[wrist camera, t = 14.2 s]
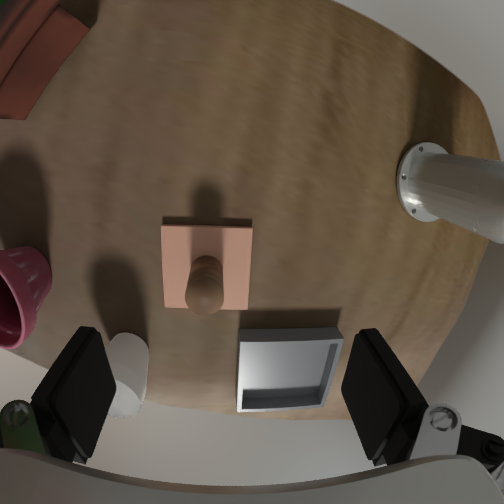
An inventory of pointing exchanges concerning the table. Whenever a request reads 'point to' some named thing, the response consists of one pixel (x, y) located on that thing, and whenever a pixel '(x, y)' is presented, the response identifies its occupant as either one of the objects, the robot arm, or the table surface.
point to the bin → (286, 368)
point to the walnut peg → (205, 286)
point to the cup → (128, 373)
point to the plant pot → (21, 292)
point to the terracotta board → (212, 244)
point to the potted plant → (32, 50)
